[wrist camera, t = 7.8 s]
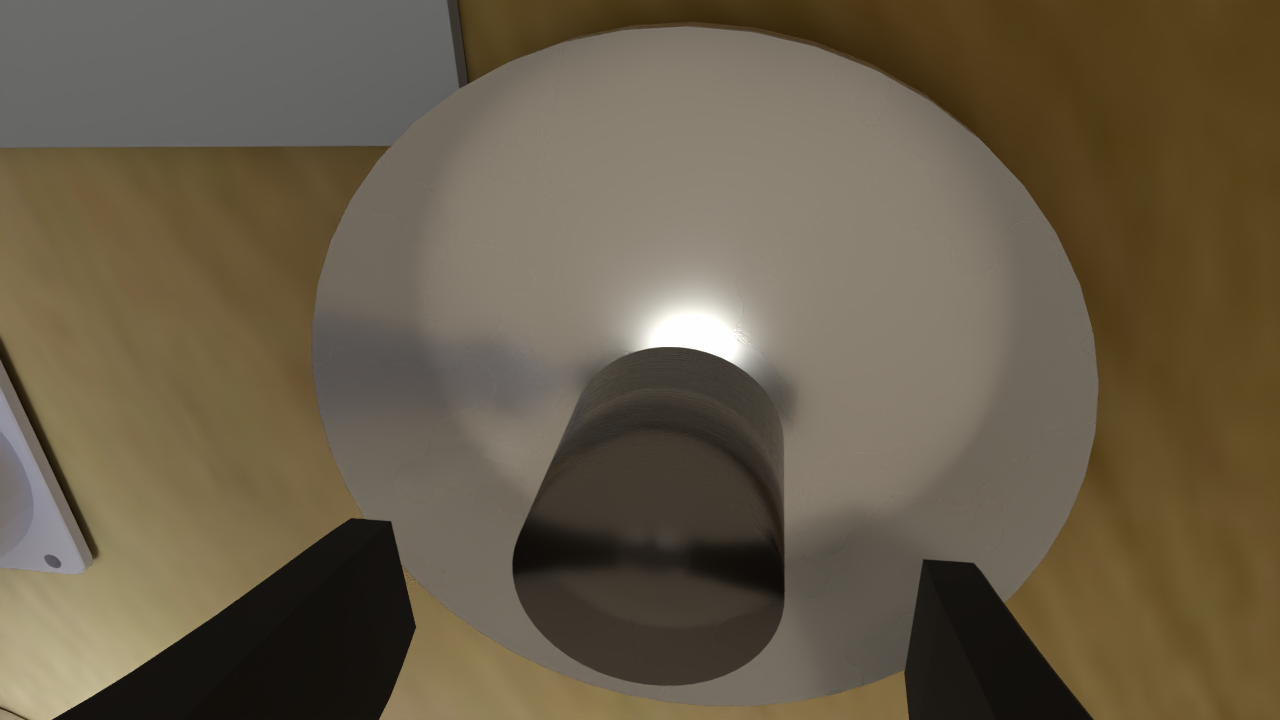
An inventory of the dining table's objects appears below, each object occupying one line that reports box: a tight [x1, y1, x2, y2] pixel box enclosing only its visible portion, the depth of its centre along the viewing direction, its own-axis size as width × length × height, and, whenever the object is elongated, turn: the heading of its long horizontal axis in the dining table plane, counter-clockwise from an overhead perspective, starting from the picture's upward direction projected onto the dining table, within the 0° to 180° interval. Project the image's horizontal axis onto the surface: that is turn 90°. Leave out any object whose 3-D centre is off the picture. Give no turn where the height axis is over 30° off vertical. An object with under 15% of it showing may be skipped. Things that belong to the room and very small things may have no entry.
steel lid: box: [312, 22, 1099, 706], centre depth 12 cm, size 13×13×4 cm
